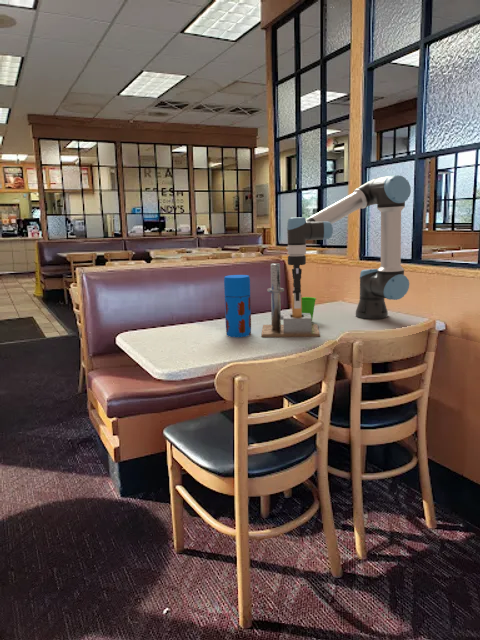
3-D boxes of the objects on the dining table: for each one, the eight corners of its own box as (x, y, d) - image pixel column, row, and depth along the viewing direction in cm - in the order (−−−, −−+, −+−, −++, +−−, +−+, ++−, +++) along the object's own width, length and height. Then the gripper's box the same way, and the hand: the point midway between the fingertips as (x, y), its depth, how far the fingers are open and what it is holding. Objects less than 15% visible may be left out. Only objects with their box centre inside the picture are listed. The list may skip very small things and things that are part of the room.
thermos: (254, 332, 212) (253, 274, 207) (246, 338, 202) (245, 278, 197) (231, 331, 215) (229, 274, 210) (222, 336, 205) (220, 277, 200)
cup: (315, 319, 233) (315, 296, 231) (316, 323, 224) (316, 300, 222) (296, 319, 234) (296, 297, 232) (297, 323, 225) (296, 300, 223)
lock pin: (301, 328, 211) (301, 294, 208) (302, 330, 207) (301, 295, 204) (292, 328, 211) (291, 294, 208) (292, 330, 207) (292, 295, 204)
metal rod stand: (316, 326, 218) (316, 261, 212) (319, 336, 201) (319, 265, 195) (263, 327, 220) (261, 262, 214) (261, 337, 203) (260, 267, 197)
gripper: (287, 253, 215) (287, 300, 219) (288, 257, 191) (288, 311, 195) (304, 252, 214) (304, 300, 219) (307, 257, 190) (307, 310, 194)
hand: (297, 305), depth 207 cm, fingers open, 13 cm apart
